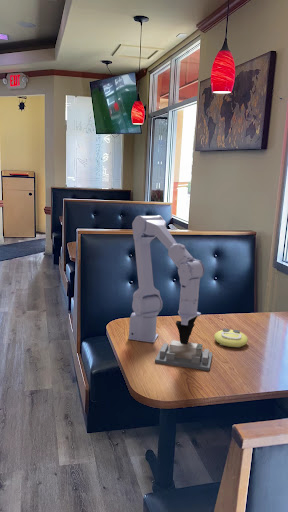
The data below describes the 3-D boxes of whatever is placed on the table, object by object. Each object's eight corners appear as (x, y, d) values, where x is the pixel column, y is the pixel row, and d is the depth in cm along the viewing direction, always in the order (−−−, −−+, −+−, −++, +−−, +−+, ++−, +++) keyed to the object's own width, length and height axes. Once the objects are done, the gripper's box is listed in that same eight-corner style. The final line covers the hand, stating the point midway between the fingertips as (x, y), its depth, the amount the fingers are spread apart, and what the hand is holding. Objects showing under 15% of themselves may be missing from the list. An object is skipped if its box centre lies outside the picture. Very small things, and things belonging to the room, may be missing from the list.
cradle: (154, 362, 132) (155, 353, 132) (162, 348, 144) (162, 339, 143) (209, 370, 129) (209, 361, 128) (212, 355, 140) (212, 346, 139)
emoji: (249, 342, 144) (247, 328, 156) (213, 338, 147) (215, 324, 158) (248, 352, 146) (246, 337, 157) (213, 348, 148) (214, 334, 159)
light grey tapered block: (169, 356, 135) (169, 344, 134) (171, 351, 139) (172, 340, 138) (200, 360, 133) (201, 349, 132) (201, 355, 137) (202, 344, 136)
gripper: (199, 306, 125) (195, 349, 127) (203, 294, 138) (200, 333, 141) (175, 303, 126) (172, 346, 129) (182, 291, 140) (179, 330, 143)
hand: (185, 339), depth 135 cm, fingers open, 7 cm apart
